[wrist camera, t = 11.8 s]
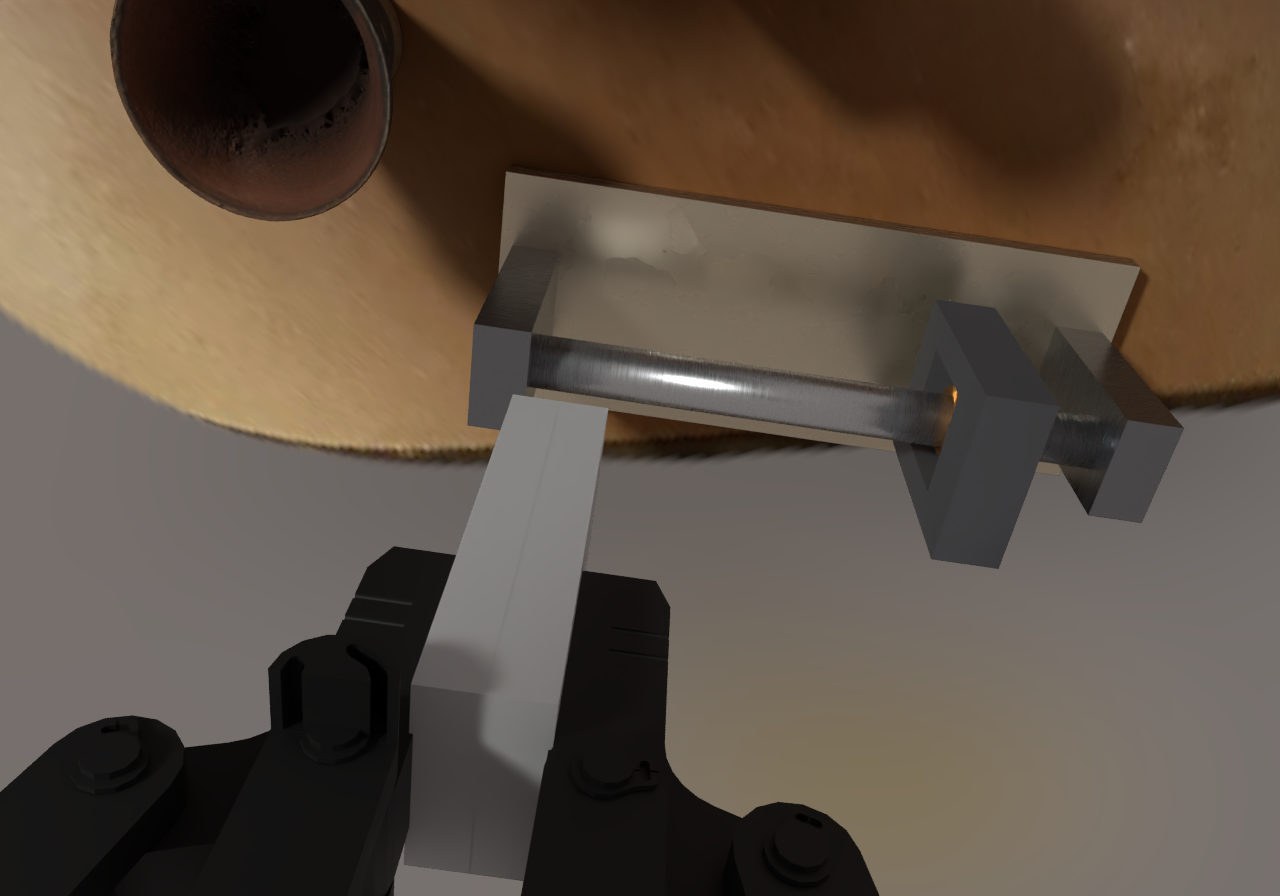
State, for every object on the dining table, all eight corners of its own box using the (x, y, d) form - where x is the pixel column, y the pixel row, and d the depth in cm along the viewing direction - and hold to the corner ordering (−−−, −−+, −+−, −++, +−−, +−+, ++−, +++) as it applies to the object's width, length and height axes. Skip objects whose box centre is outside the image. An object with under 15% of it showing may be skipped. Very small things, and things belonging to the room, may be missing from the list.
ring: (892, 442, 44) (931, 559, 37) (935, 298, 41) (986, 395, 34) (948, 450, 44) (998, 568, 37) (995, 307, 41) (1059, 406, 34)
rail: (493, 383, 48) (450, 492, 39) (509, 165, 43) (464, 238, 35) (1052, 464, 48) (1125, 589, 40) (1132, 258, 43) (1233, 352, 35)
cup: (337, 227, 44) (228, 277, 35) (199, 32, 41) (42, 30, 32) (508, 109, 41) (441, 129, 32) (372, -105, 39) (257, -149, 30)
